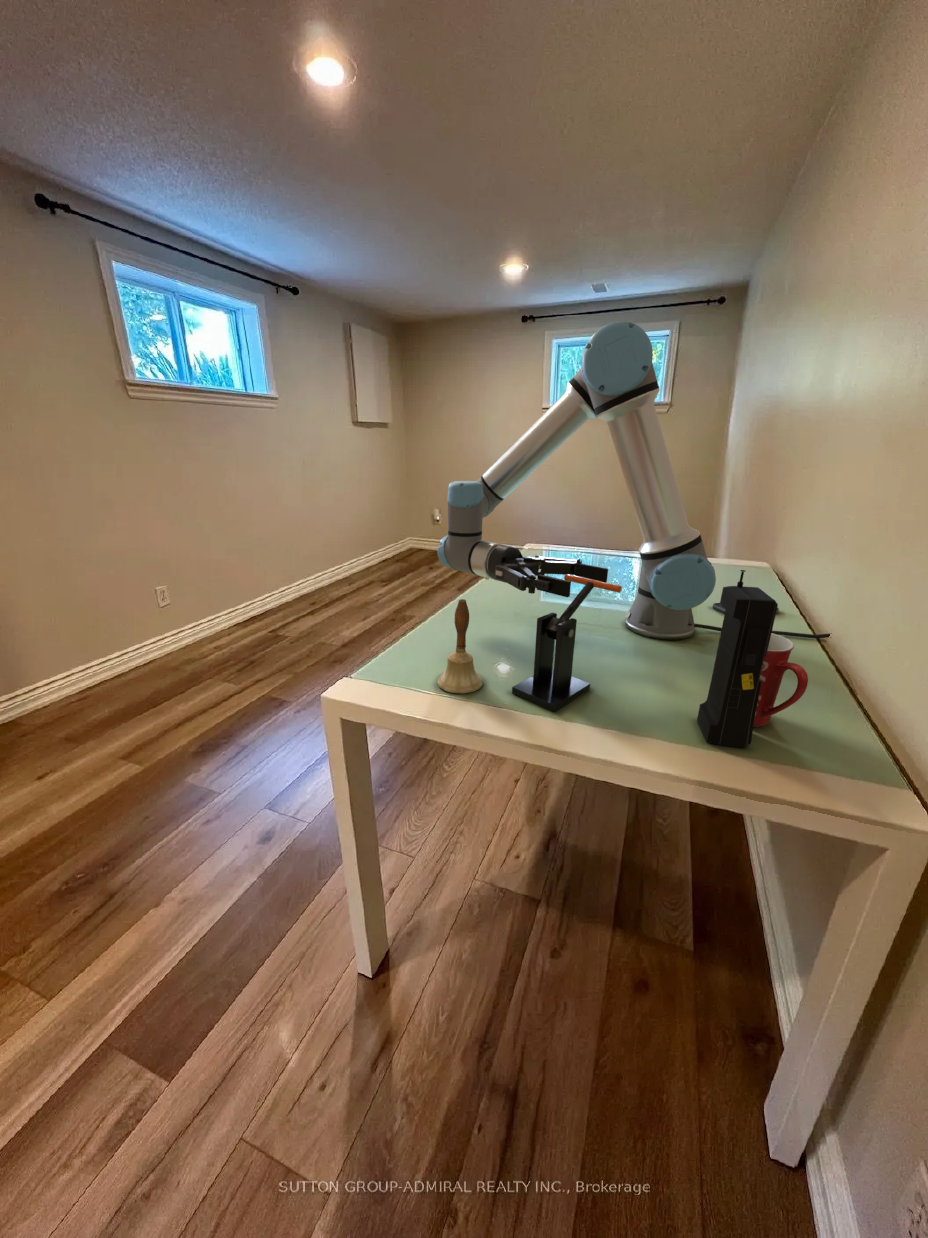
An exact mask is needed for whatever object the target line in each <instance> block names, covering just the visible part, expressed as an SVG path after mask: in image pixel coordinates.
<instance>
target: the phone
mask: <svg viewBox="0 0 928 1238" xmlns="http://www.w3.org/2000/svg"><path fill="white" fill-rule="evenodd" d="M712 609H713V610H715V611H718V612H720V613H722V614H724V615H725V610H726V609H725V608H724V607H723V606H722V605H721V604H720V602H714V603H712ZM779 610H780V607H779V606H778V607H777V611H776V614H778V613H779Z"/></svg>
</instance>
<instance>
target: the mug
mask: <svg viewBox="0 0 928 1238" xmlns="http://www.w3.org/2000/svg"><path fill="white" fill-rule="evenodd" d="M794 648H795V644H794V643H793V641H792V640H790V639H788V638H787V637H785V636H783V635H776V634H773V633H771V637H770V641H769V646H768V650H767V654H766V657H765V658H764V661H763V666H762V670H761V675H760V679H759V680H760V681H761V682H762V683H761V688H760V693H759V698H758V703H757V708H756V713H755V719H754V725H753V728H759V727H763V726H766V725H768V724H769V722H770V720H771V716H773V715H775V714H778V713H779V712H782V711H784V710H785V709H787V708H789V707H790V706H793V705H794V704H795V703H796V702H798V701H799V700H800V699H801V698H802V697H803V696H804V694H805V692H806V690H807V687H808V683H809V676H808V672H807V671H806V670H805V668H804V667H803V666H801V665H800V664H798V663H796V662H790V661H789V659H790V656H791V653H792V651H793V650H794ZM788 670H790V671H792V672H793V673H794V674H795V676H796V679H797V685H796V688H795V690H794V692H793V694H792V695H791V696H790V697H789V698H788V699H786V700H785V701H784V702H782V703H780V704H778V705H776V706H775V704H776V701H777V697H778V693H779V691H780V688H781V684H782V682H783V678H784V675H785V672H786V671H788Z"/></svg>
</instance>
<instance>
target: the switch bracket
mask: <svg viewBox="0 0 928 1238" xmlns="http://www.w3.org/2000/svg"><path fill="white" fill-rule="evenodd" d="M553 617H556V618H558V613H555V612H550V613H547V614H544V615H542V616H540V617H538V618H536V619H537V620H536V633H535V644H534V645H535V648H534V662H533V676H531V677H529V678H527V679H525V680H523V681H521V682H519V683H517V684H516V685H514V686H512V689H511V694H512V695H515V696H516V697H519V698H521V699H523V700H526V701H528V702H530V703H533V704H535V705H537V706H539V707H542V708H543V709H545V710H548V711H550V712H552V713H556V712H557V711H559V710H561V709H562V708H564V707H565V706H567V705H569V704H570V703H572V702H573V701H575V700H577V699H578V698H580V697H581V696H583V695H584V694H586V693H588V692H589V691H590V690H591V683H590V682H587V681H585V680H582V679H579V678H577V677H574V676H572V673H573V665H574V655H575V644H576V632H577V621H578V619H576V618H573V617H570V619H569V620H567V621H564V622H562V623H560V624H557V634H556V640H555V639H552V638H548V635H547V632H546V630H545V627H546V626H547V625H548V624H549V622H550V621H551V620H552V619H553Z"/></svg>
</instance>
